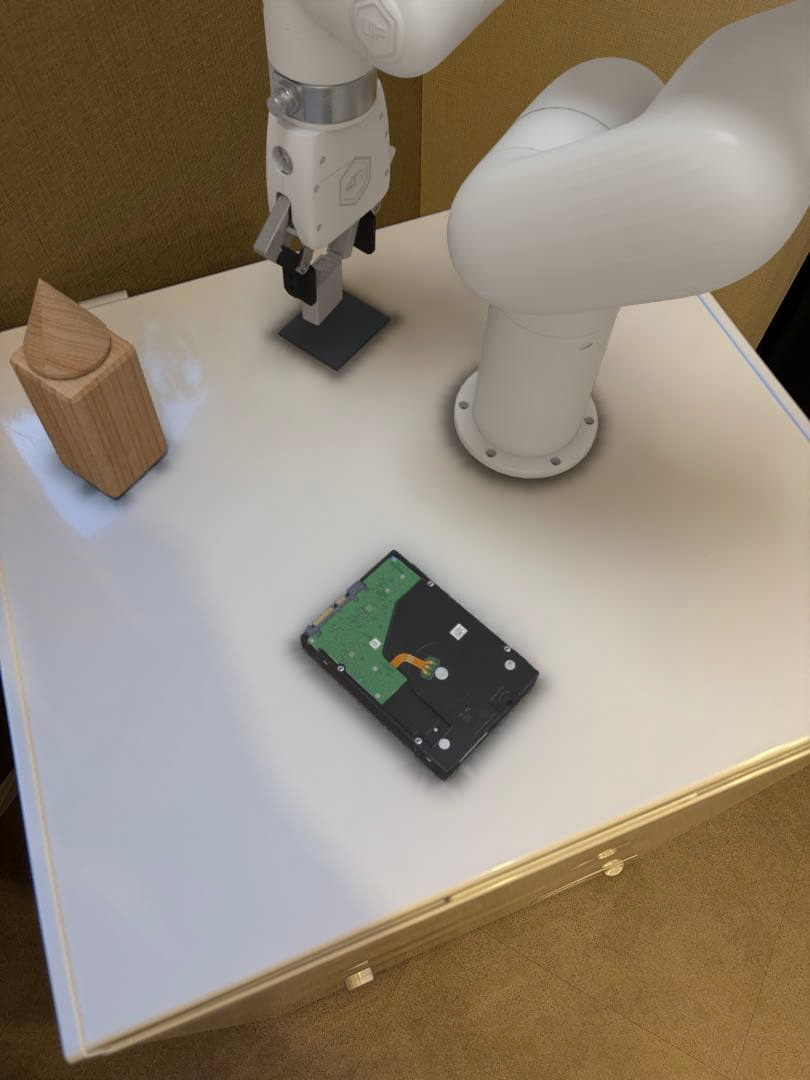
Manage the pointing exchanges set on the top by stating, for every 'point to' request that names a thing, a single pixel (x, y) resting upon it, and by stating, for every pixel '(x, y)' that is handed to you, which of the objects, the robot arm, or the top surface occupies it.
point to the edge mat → (336, 331)
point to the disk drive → (419, 662)
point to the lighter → (330, 276)
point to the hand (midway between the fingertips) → (330, 270)
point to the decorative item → (88, 393)
